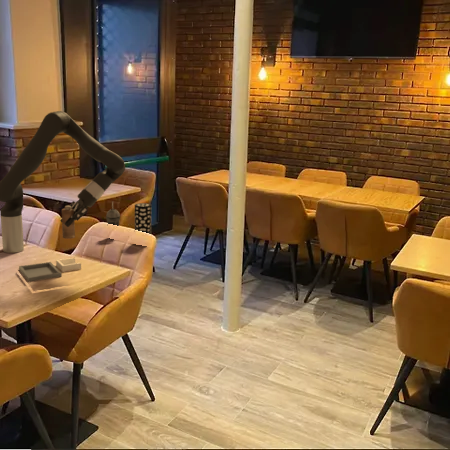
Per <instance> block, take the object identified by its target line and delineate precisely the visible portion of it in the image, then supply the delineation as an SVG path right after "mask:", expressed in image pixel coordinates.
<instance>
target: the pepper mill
mask: <svg viewBox="0 0 450 450" xmlns="http://www.w3.org/2000/svg"><path fill="white" fill-rule="evenodd" d="M73 210H74V209H72V208H71V206H70V205H65V206H64V208H62V209H61V219H62V222H61V223H62V226H61V229H62V238H63V239H66V240H67V239H69V240H71V239H74V238H76V230H75V229H76V226H75V223H76V222H75V221H73V223H72V224H71V225H70V226H69V227H67V226H66V225H65V224H64V223H65V222H66V221H67V220H68V219H69V218H71V215H72V214H73Z"/></svg>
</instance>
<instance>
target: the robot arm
mask: <svg viewBox="0 0 450 450" xmlns="http://www.w3.org/2000/svg"><path fill="white" fill-rule="evenodd" d="M62 133H63V134H66V135H67V136H68V137H71V138H72V139H74V141H75V142H76V143H77V144H78V145H79V147H80V148H81V149H82V151H83V152H84V153H85V154H87V155H88V156H89V157H90V158H92V159H94V160H95V161H96V162H98V163H101V164H103V165H104V166H106V168H105V169H104V170H103V171H100V172H99V173H97V174H96V176H94V178H93V179H92V180H91V181H90V182H89V183H88V184H87V185H85V187H84V188H83V189H82V190H81V191H80V192H79V193H78V194H77V199H78V200H77V201H76V202H75V201H74V200H73V201H72V202H71V203H70V205H69V206H71V208H72V209H74V210H73V214H72V215H71V218H69V219H68V220H67V221H66V222H65V223H64V224H65V225H66V226H67V227H69V226H70V225H71V224H72V223H73V221H79V220H80V219H81V218H82V217H83V216H84V215H85V214H87V213H88V209H87V208H92V207H93V206H94V205H95V204H96V202H98V200H100V198H101V197H102V195H104V193H105V191H107V189H108V188H109V187H111V185H112V184H113V183H114V182H115V181H116V180H118V179H119V178H120V177H121V176H122V175H123V174H124V172H125V170H126V164H125V160H124V159H123V158H122V157H121V156H120V155H118V154H117V153H115V152H114V151H111V150H109V149H108V148H107V147H106V146H104V145H103V144H101V143H100V142H99V141H98V140H96V139H95V138H94V137H92V135H90V134H89V133H88V132H87V131H85V130H84V129H83V128H82V127H81V126H80V125H79V124H78V123H77V122H76V121H75V120H74V119H73V118H72V117H71V116H70V115H69V114H68V113H67V112H64V111H62V110H58V111H51V112H49V113H47V114H46V115H45V116H44V118H43V119H42V121H41V123H40V125H39V126H38V129H37V130H36V132H35V134H34V136H32V138H31V139H30V141H29V142H28V144H27V145H26V146H25V147H24V149H23V150H22V152H21V153H20V154H19V156H18V157H17V159H16V160H15V162H14V163H13V165H12V166H11V168H9V171H8V172H7V173H6V174H5V175H4V177H3V178H2V179H1V180H0V202H3V203H4V205H3V206H2V207H1V208H0V226H1V242H2V243H1V244H2V251H3V252H4V253H8V254H13V253H20V252H23V251H24V250H25V248H24V247H25V245H24V230H23V229H24V227H23V213H22V212H23V210H24V209H23V208H24V190H23V185H22V184H21V183H22V182H24V181H25V180H26V179H27V178H28V177H30V176H31V175H32V174H33V173H34V172H36V171H37V170H38V168H39V167H40V166H41V165H42V163H44V160H45V158H46V156H47V152H48V149H49V146H50V145H51V142H52V141H53V140H54V139H55V138H56V137H57V135H59V134H62ZM60 223H62V218H61V219H60Z"/></svg>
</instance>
